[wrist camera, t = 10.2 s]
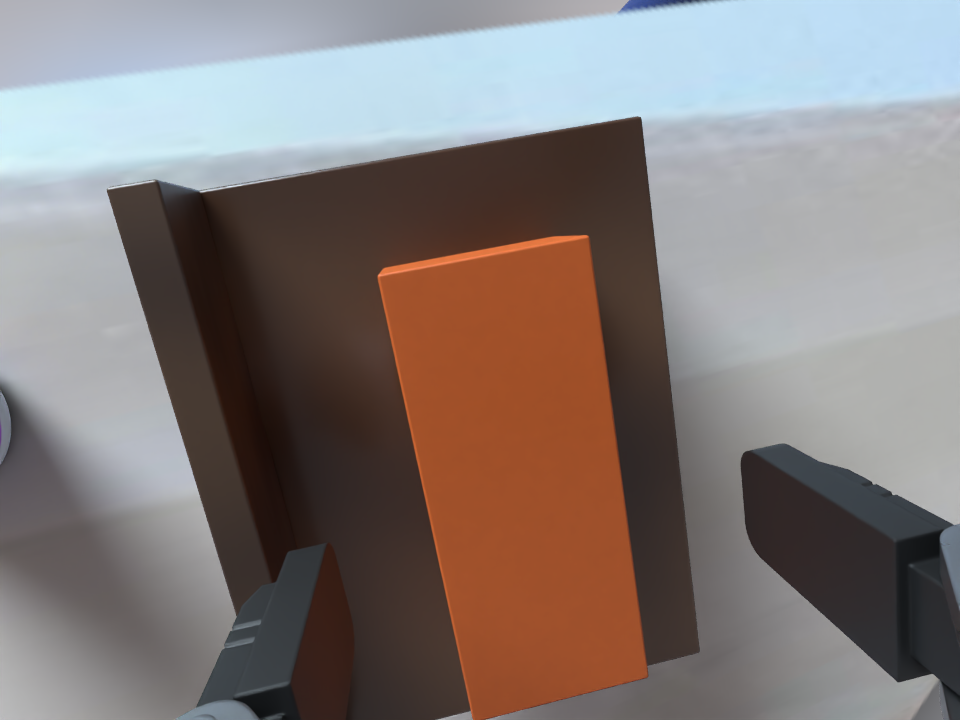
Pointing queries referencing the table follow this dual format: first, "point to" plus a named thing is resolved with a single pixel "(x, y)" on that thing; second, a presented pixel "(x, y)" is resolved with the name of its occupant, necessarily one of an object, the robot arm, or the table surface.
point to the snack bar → (519, 468)
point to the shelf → (391, 374)
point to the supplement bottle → (4, 427)
